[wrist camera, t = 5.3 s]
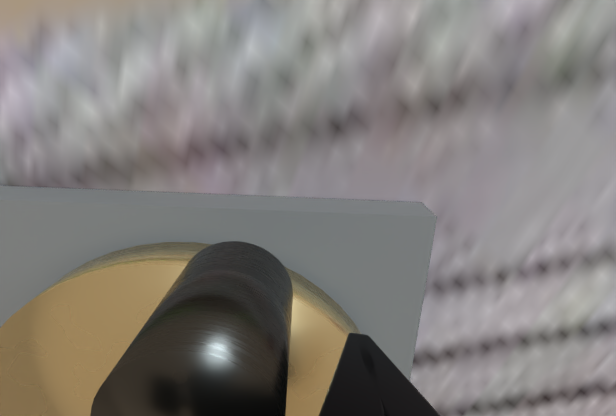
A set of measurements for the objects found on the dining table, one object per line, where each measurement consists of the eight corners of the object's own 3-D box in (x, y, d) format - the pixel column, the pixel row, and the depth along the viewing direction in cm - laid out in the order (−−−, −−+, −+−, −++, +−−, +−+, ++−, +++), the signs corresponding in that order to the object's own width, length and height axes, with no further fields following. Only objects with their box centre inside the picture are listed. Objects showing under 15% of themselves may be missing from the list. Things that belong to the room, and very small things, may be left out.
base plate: (376, 501, 17) (382, 539, 15) (58, 494, 16) (35, 532, 15) (421, 202, 12) (436, 216, 10) (-21, 184, 12) (-67, 197, 10)
